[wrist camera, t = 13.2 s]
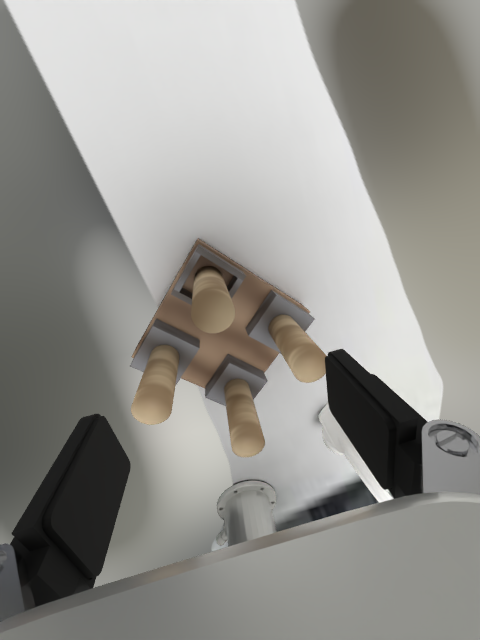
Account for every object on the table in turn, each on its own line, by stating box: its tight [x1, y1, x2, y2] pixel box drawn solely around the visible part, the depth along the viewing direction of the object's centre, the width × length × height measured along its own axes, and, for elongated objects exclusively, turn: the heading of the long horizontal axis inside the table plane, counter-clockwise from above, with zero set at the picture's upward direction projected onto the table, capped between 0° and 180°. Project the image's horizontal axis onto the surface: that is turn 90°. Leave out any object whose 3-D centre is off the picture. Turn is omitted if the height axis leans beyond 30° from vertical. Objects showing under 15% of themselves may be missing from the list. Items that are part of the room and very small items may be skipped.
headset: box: [318, 403, 405, 503], centre depth 42 cm, size 20×7×18 cm, turn 43°
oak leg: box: [191, 266, 235, 333], centre depth 26 cm, size 4×4×12 cm
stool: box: [130, 239, 326, 457], centre depth 30 cm, size 18×18×15 cm
